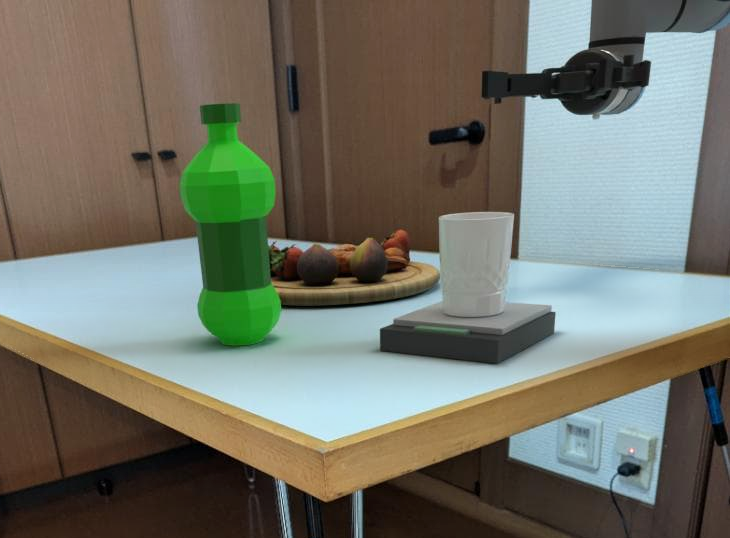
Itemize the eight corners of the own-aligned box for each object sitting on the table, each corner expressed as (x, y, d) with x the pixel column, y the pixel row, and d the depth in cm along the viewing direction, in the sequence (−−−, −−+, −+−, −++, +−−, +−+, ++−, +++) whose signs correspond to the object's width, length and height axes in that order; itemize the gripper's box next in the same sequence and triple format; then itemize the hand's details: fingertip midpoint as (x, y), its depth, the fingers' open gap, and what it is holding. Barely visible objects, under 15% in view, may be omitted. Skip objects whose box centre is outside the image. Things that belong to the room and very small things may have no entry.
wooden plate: (381, 267, 144) (380, 218, 141) (480, 290, 118) (482, 231, 114) (210, 287, 133) (204, 234, 130) (278, 318, 107) (273, 253, 103)
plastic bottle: (269, 327, 102) (251, 105, 91) (295, 343, 93) (279, 99, 82) (192, 337, 99) (164, 109, 88) (211, 355, 90) (182, 103, 79)
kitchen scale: (554, 333, 91) (556, 305, 90) (497, 363, 81) (498, 332, 79) (445, 323, 99) (445, 297, 97) (380, 350, 88) (379, 322, 87)
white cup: (423, 314, 89) (423, 218, 84) (463, 302, 94) (465, 211, 90) (483, 321, 84) (487, 220, 80) (522, 308, 89) (528, 212, 85)
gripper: (688, 108, 102) (651, 108, 87) (502, 120, 115) (440, 122, 99) (698, 39, 99) (661, 27, 83) (505, 59, 111) (441, 52, 95)
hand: (541, 79), depth 91 cm, fingers open, 13 cm apart
